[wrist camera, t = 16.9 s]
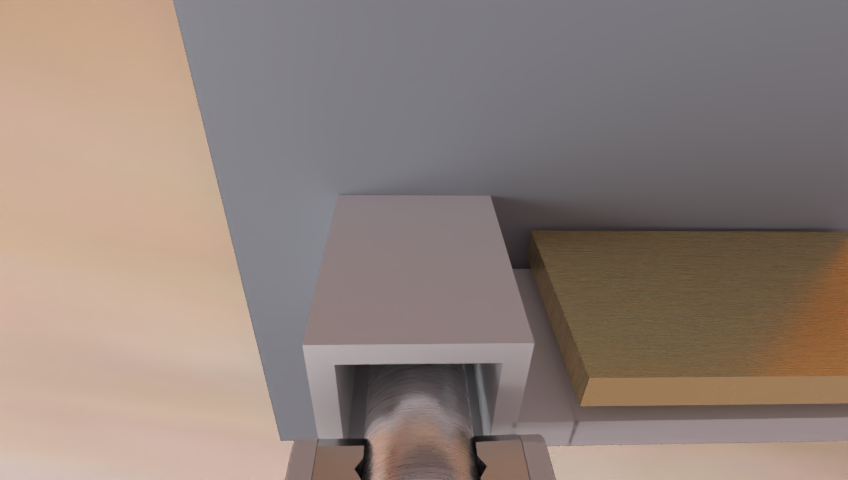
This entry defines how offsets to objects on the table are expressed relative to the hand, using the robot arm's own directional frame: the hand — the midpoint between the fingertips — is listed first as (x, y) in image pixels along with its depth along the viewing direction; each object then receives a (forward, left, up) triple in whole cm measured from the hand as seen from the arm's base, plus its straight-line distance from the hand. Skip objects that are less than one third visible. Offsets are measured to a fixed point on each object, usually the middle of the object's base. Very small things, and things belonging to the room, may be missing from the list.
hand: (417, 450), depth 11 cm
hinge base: (0, -5, -8) cm, 10 cm away
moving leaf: (+1, -9, -7) cm, 11 cm away
